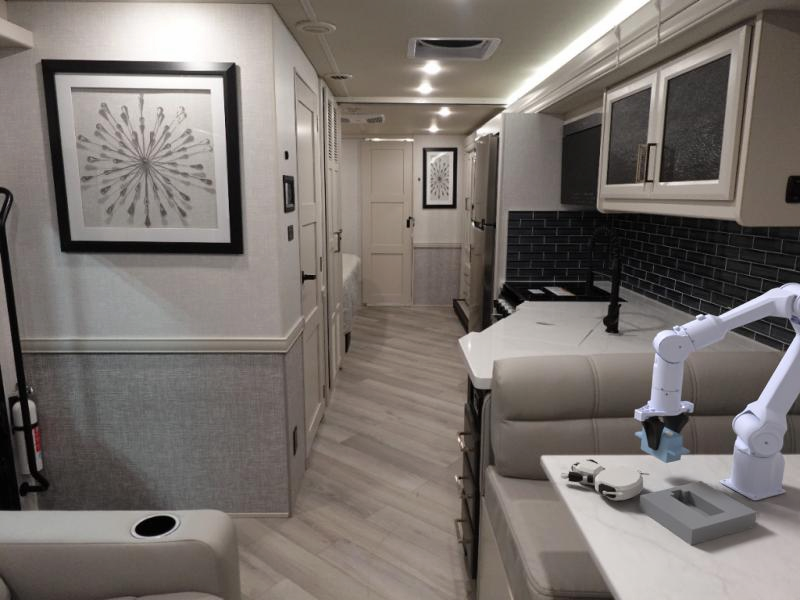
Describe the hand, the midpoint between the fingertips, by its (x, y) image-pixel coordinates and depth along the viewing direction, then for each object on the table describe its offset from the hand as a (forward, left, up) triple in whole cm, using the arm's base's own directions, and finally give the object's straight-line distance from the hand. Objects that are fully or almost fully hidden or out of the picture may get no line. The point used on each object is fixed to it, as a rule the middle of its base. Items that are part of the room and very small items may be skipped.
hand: (661, 446), depth 117 cm
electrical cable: (+8, -2, -8) cm, 11 cm away
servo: (0, 0, -2) cm, 2 cm away
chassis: (+5, +14, -8) cm, 17 cm away
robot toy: (+14, -1, -8) cm, 16 cm away
